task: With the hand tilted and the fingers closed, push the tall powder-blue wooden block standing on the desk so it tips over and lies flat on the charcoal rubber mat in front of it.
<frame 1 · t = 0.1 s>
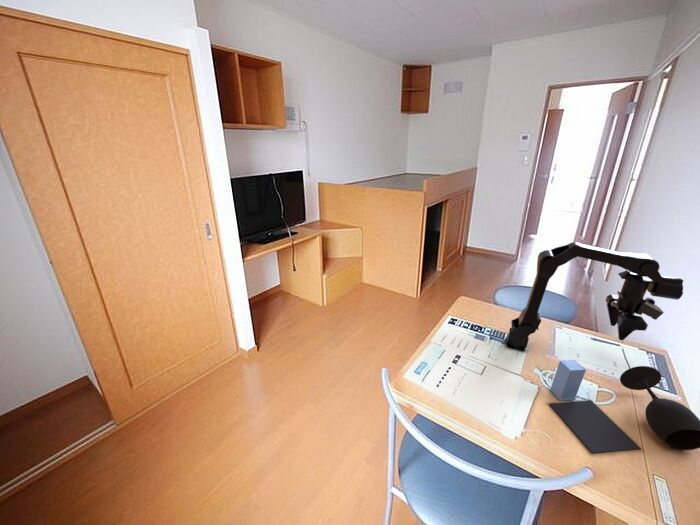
hand: (616, 332, 104), 15 cm above the table, tool pointing down, fingers open, 9 cm apart
wine glass: (639, 377, 95), point 7 cm above the table
blue block: (562, 394, 98), on the table
rubber mat: (591, 425, 87), on the table
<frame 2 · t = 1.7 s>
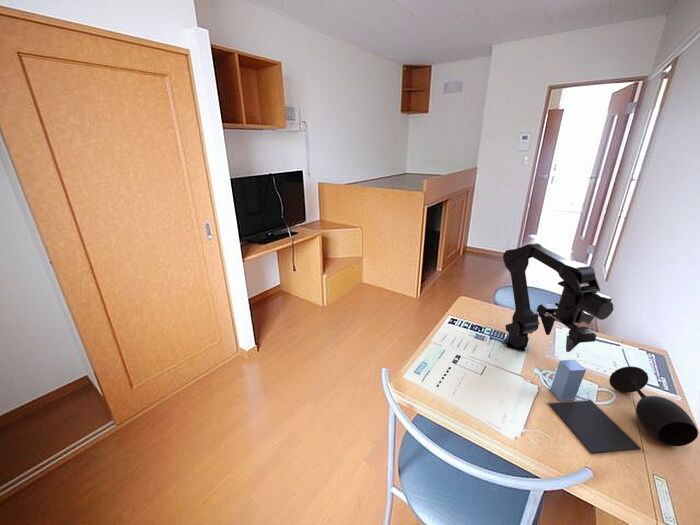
hand: (557, 342, 103), 12 cm above the table, tool pointing down, fingers open, 9 cm apart
wine glass: (627, 378, 97), point 5 cm above the table
everything else where it was.
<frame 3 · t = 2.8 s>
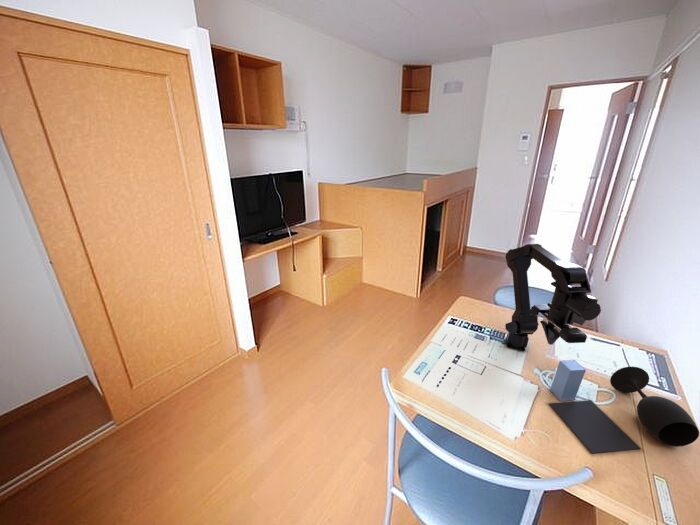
hand: (550, 343, 103), 12 cm above the table, tool pointing down, fingers closed
nothing on the table moved.
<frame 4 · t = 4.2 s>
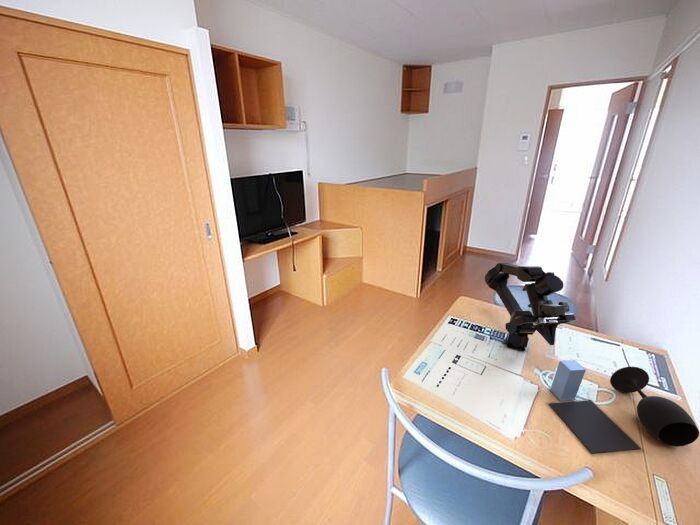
hand: (552, 345, 101), 12 cm above the table, tool tilted 45°, fingers closed
nothing on the table moved.
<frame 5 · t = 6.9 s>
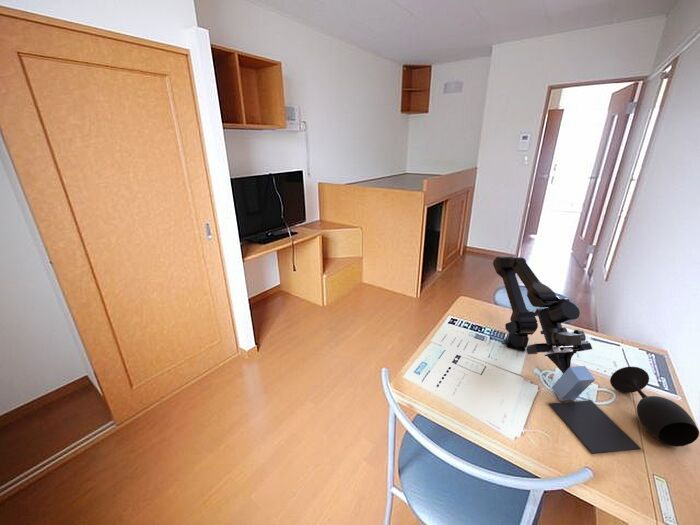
hand: (567, 376, 95), 7 cm above the table, tool tilted 45°, fingers closed
blue block: (562, 393, 97), point 1 cm above the table, tilted 17°, touching gripper
everything else where it was.
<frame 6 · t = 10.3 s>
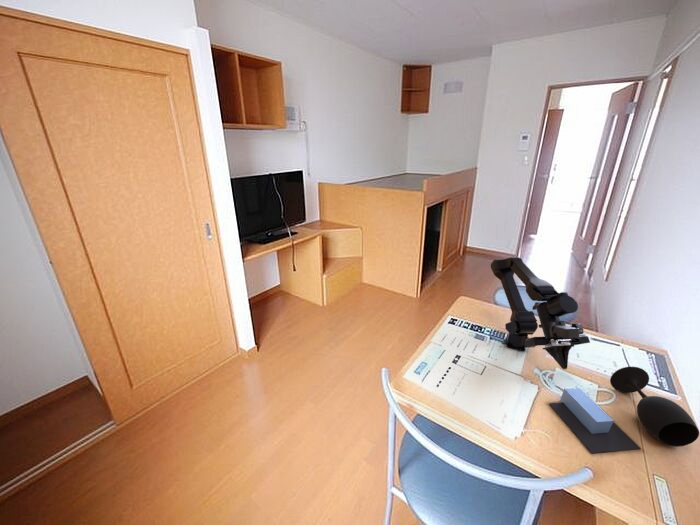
hand: (565, 369, 96), 9 cm above the table, tool tilted 45°, fingers closed
blue block: (569, 393, 95), point 3 cm above the table, tilted 90°, touching rubber mat
everything else where it was.
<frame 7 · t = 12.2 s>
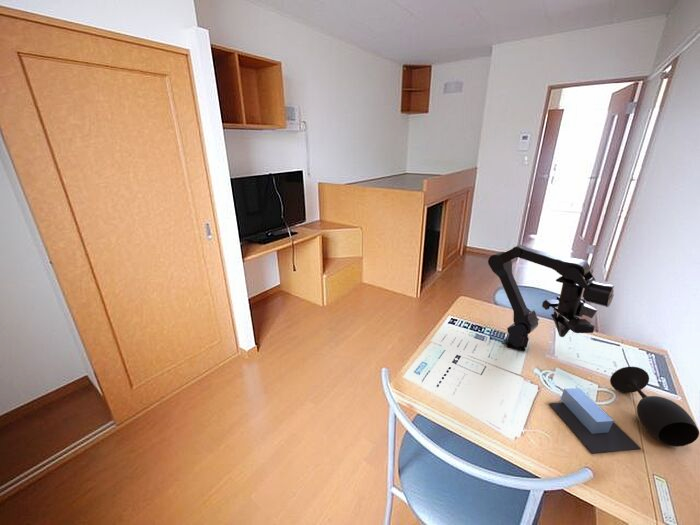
hand: (561, 336, 107), 12 cm above the table, tool pointing down, fingers closed
nothing on the table moved.
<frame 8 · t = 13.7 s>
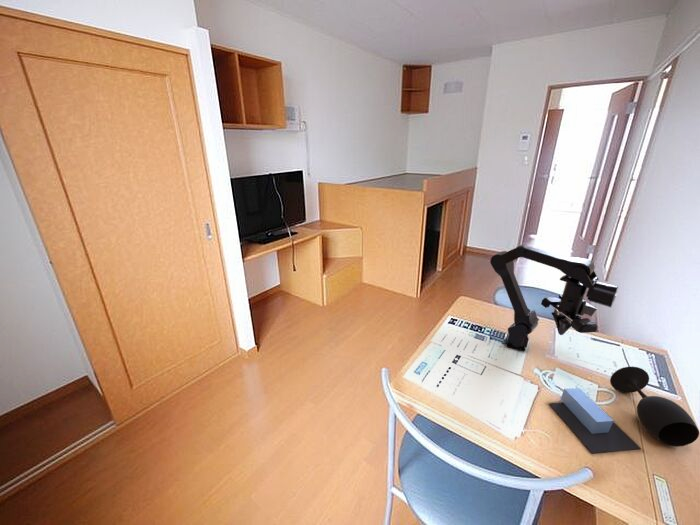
hand: (560, 334, 108), 12 cm above the table, tool pointing down, fingers closed
nothing on the table moved.
at the end: blue block tilted 90°; blue block inside the target area (6.1 cm from its centre), point 2.6 cm above the table; blue block touching rubber mat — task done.
